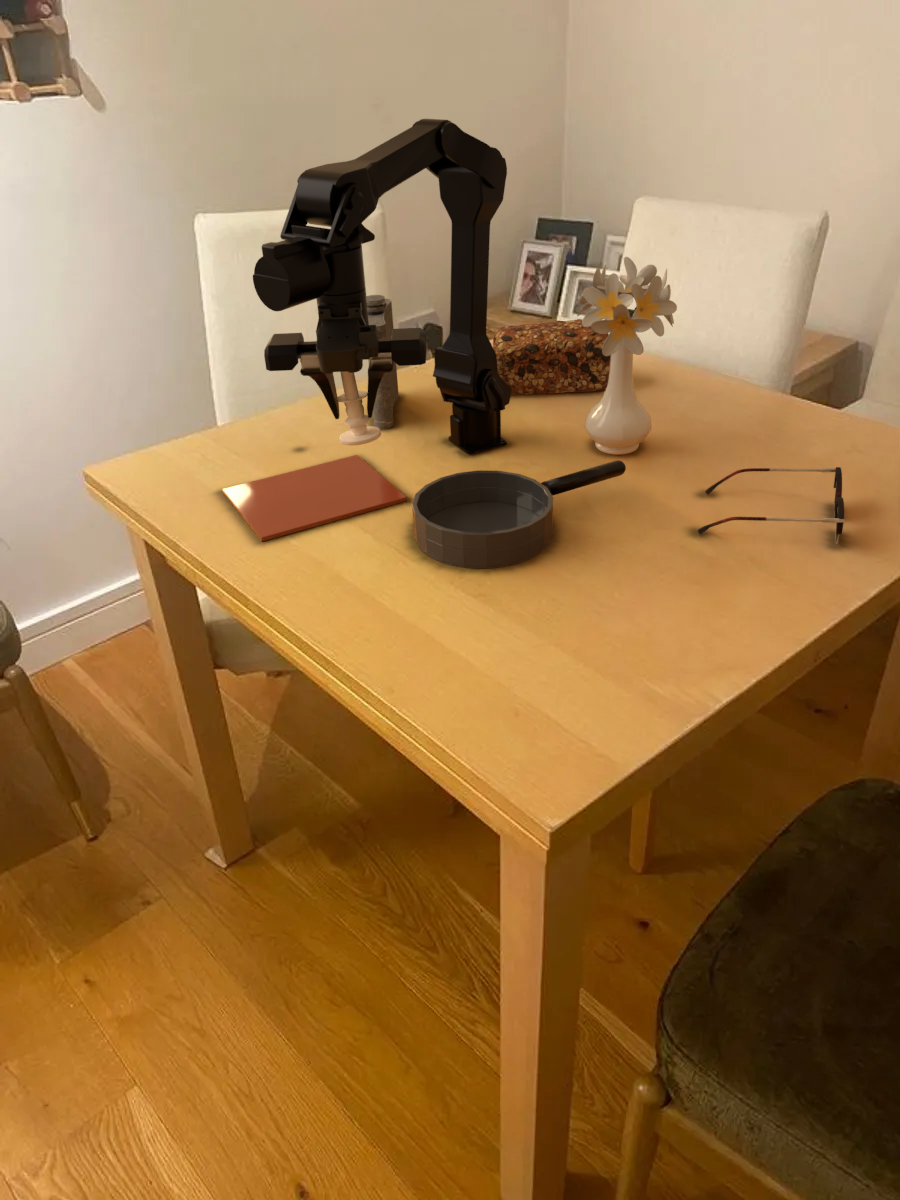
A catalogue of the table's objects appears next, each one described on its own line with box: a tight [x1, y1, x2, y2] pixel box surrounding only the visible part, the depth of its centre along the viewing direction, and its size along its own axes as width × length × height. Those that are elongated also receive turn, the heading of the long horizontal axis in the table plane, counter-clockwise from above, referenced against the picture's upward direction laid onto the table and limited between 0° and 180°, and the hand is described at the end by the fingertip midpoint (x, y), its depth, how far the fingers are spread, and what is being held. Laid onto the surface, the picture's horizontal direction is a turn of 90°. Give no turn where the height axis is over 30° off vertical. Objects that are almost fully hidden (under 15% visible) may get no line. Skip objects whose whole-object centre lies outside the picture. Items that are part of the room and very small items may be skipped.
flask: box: [366, 294, 400, 430], centre depth 149 cm, size 4×14×18 cm, turn 179°
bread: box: [492, 318, 611, 396], centre depth 158 cm, size 19×11×10 cm, turn 89°
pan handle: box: [540, 459, 627, 497], centre depth 123 cm, size 13×2×2 cm, turn 119°
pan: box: [411, 469, 554, 569], centre depth 118 cm, size 17×17×4 cm
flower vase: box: [576, 256, 678, 455], centre depth 131 cm, size 13×18×25 cm
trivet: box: [221, 454, 408, 542], centre depth 129 cm, size 20×16×1 cm
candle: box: [337, 372, 382, 446], centre depth 118 cm, size 5×5×10 cm
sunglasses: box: [697, 466, 845, 544], centre depth 118 cm, size 14×16×5 cm
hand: (353, 417), depth 119 cm, fingers closed on candle, 4 cm apart
